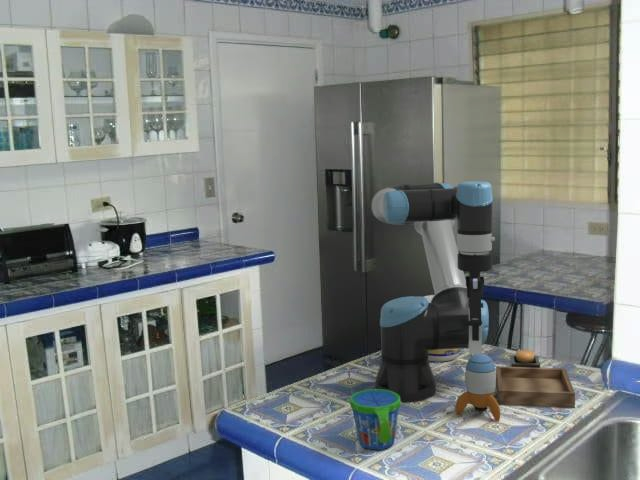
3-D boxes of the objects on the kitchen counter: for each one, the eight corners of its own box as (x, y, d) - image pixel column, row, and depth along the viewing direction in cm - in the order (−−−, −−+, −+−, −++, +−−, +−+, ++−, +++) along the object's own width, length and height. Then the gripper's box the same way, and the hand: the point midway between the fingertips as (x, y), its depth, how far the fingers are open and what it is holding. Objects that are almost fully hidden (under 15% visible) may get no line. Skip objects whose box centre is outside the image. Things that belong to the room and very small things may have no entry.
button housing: (511, 378, 182) (511, 363, 181) (510, 369, 189) (510, 355, 188) (540, 379, 180) (540, 364, 180) (537, 370, 187) (537, 355, 186)
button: (516, 362, 182) (516, 354, 182) (515, 356, 187) (515, 349, 186) (534, 362, 181) (534, 355, 181) (533, 357, 186) (533, 349, 185)
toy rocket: (508, 424, 156) (499, 365, 152) (461, 434, 157) (451, 375, 153) (497, 401, 166) (488, 344, 162) (452, 409, 167) (442, 353, 162)
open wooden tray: (498, 404, 165) (498, 390, 165) (496, 379, 182) (496, 366, 181) (574, 408, 162) (575, 393, 161) (565, 381, 178) (565, 368, 178)
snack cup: (347, 429, 155) (346, 385, 153) (395, 426, 156) (394, 382, 154) (355, 462, 140) (353, 413, 138) (407, 459, 140) (406, 410, 139)
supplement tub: (450, 365, 193) (450, 306, 191) (410, 359, 200) (409, 301, 197) (466, 352, 204) (465, 296, 201) (426, 347, 210) (426, 292, 207)
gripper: (494, 262, 142) (494, 363, 145) (490, 242, 166) (490, 329, 170) (456, 262, 144) (457, 361, 147) (458, 242, 168) (459, 328, 171)
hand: (475, 344), depth 158 cm, fingers open, 13 cm apart
